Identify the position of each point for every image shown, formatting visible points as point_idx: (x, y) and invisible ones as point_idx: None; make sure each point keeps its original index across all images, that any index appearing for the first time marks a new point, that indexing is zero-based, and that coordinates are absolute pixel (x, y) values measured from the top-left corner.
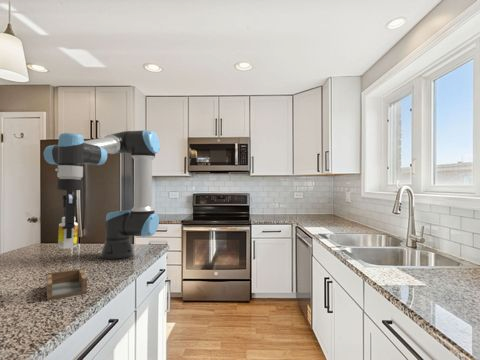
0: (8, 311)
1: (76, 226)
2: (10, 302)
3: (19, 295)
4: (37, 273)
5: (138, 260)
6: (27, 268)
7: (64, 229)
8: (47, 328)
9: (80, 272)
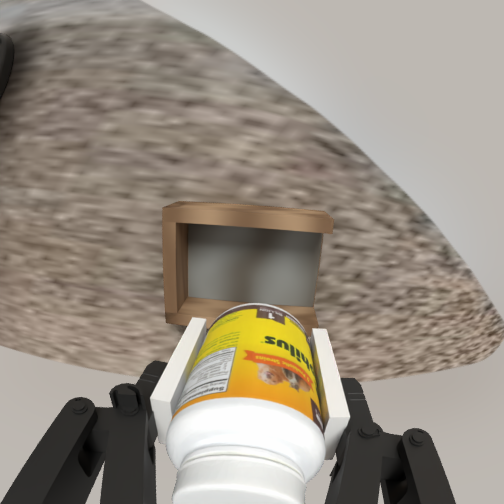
0: None
1: (300, 404)
2: None
3: None
4: (42, 300)
5: (60, 11)
6: (3, 310)
7: (331, 454)
8: (464, 316)
9: (221, 223)
